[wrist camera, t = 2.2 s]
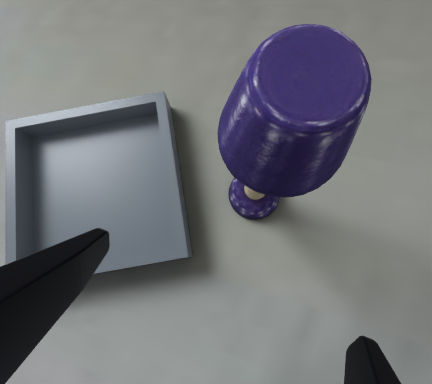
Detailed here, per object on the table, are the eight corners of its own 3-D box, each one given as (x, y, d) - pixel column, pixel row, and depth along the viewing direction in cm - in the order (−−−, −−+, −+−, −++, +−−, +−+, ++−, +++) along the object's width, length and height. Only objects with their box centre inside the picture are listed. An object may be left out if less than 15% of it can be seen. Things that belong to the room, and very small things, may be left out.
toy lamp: (291, 213, 22) (460, 110, 6) (239, 236, 22) (262, 197, 6) (265, 162, 23) (347, -47, 7) (216, 184, 23) (177, 23, 7)
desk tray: (30, 284, 22) (5, 289, 20) (27, 133, 25) (5, 121, 22) (193, 256, 22) (188, 257, 19) (170, 106, 25) (164, 91, 22)
